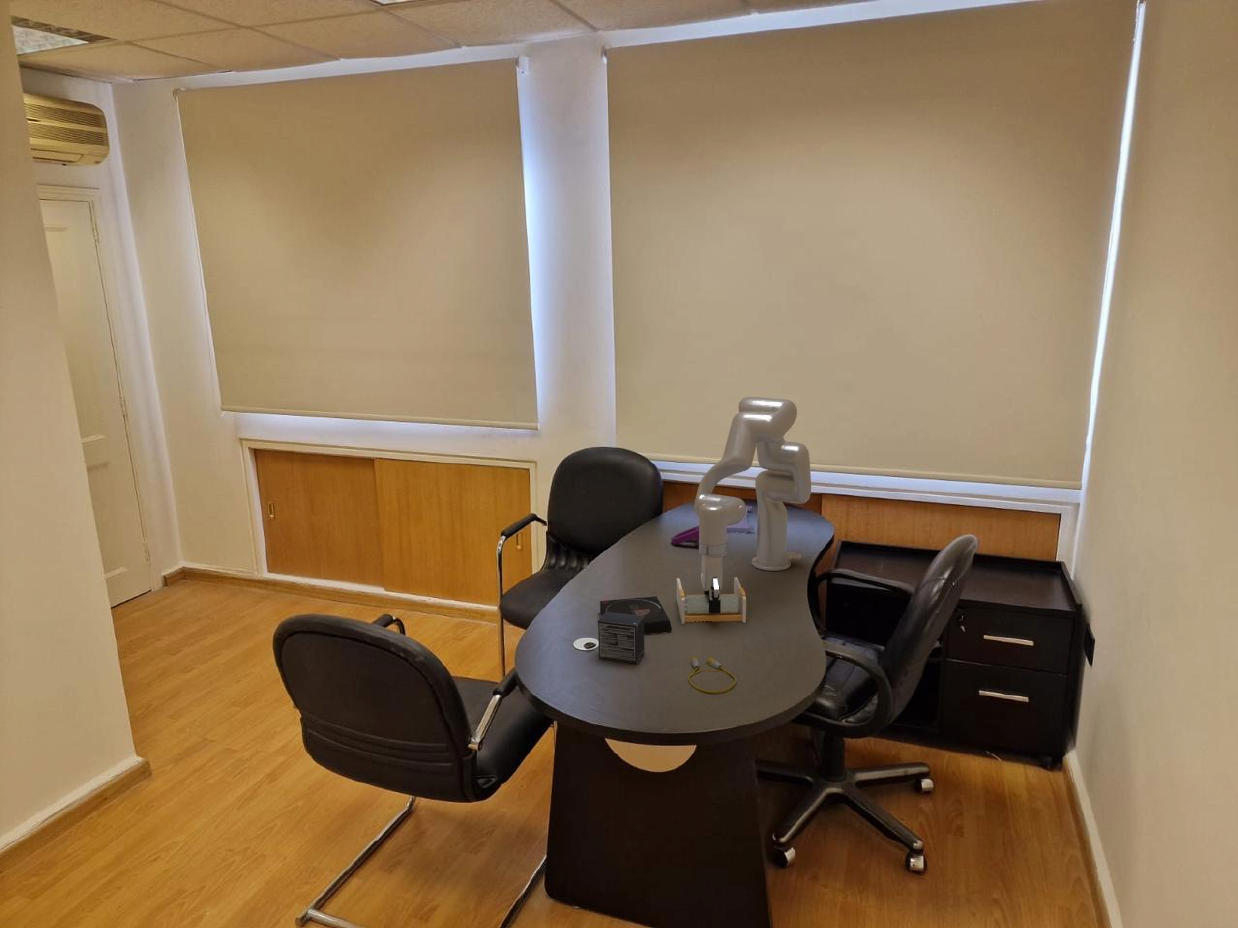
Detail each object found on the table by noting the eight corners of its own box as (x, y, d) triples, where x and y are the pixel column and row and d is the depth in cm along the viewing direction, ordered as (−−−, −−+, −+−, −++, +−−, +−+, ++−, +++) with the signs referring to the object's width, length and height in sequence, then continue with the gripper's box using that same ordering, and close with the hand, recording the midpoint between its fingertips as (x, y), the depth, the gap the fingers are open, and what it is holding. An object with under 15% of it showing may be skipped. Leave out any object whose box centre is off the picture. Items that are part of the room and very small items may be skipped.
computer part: (752, 511, 323) (714, 510, 325) (752, 501, 322) (715, 500, 324) (753, 535, 294) (712, 534, 297) (754, 524, 293) (713, 523, 296)
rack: (736, 599, 237) (737, 575, 235) (746, 622, 221) (746, 596, 219) (676, 600, 236) (676, 576, 235) (681, 623, 221) (681, 598, 219)
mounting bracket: (677, 563, 283) (722, 547, 275) (667, 542, 283) (712, 525, 275) (685, 554, 292) (729, 539, 284) (676, 533, 291) (719, 517, 283)
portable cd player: (672, 633, 216) (672, 619, 215) (609, 639, 214) (609, 625, 213) (658, 609, 232) (658, 596, 231) (600, 614, 229) (600, 600, 228)
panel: (736, 615, 226) (736, 593, 225) (737, 619, 224) (737, 597, 222) (686, 616, 226) (686, 594, 225) (687, 620, 224) (687, 598, 222)
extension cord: (741, 666, 198) (741, 658, 198) (733, 698, 183) (733, 690, 183) (692, 661, 201) (692, 653, 201) (680, 692, 186) (680, 684, 186)
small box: (645, 653, 205) (645, 614, 202) (638, 664, 199) (637, 625, 196) (606, 647, 208) (605, 609, 206) (597, 658, 202) (596, 620, 200)
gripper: (695, 537, 228) (695, 593, 233) (702, 558, 212) (702, 619, 216) (722, 536, 229) (721, 592, 233) (731, 558, 212) (730, 618, 216)
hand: (712, 605), depth 224 cm, fingers open, 9 cm apart
